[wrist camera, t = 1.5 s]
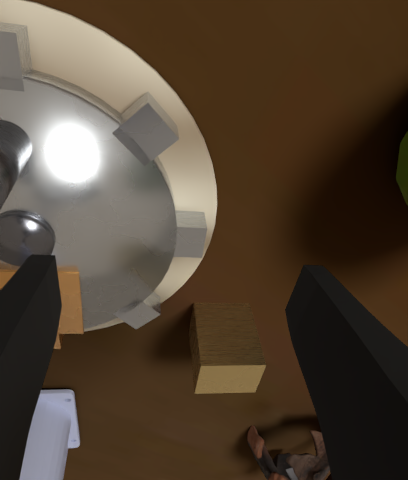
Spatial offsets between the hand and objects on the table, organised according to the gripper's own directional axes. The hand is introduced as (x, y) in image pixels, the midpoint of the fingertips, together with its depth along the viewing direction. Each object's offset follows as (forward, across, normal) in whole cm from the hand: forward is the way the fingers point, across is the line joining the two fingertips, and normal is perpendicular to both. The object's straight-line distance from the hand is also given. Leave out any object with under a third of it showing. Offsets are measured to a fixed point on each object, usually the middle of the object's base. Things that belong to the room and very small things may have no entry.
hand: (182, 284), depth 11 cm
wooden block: (+10, -5, +13) cm, 17 cm away
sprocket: (+10, +7, +4) cm, 13 cm away
